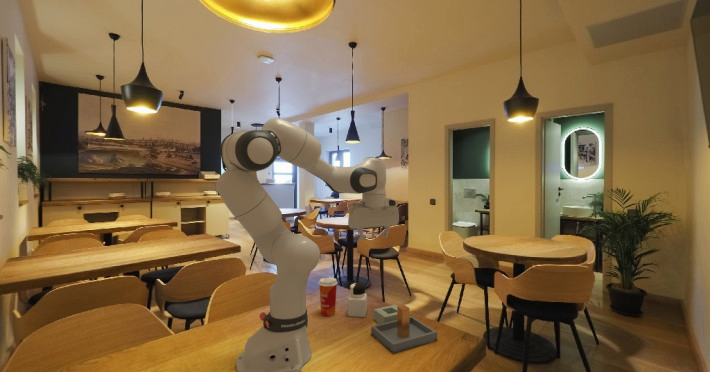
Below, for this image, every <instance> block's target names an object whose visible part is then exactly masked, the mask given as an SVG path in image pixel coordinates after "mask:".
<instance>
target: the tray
mask: <svg viewBox="0 0 710 372" xmlns="http://www.w3.org/2000/svg"><path fill="white" fill-rule="evenodd" d="M370 331H371V332H370V333H371V334H370V335H371V336H372V337H374V339H376V340H377V341H378V342H379V344H381V345H383V346H384V348H386V349H387V350H388V351H390V353H392V354H393V355H395V354H398V353H402V352H405V351H408V350H411V349H414V348H417V347H420V346H424V345H427V344H431V343H434V342H436V341H438V331H436V330H435V329H434V328H432V327H430V326H428V325H426V324H425V323H424V322H422V321H420V320H419V319H417V318H416V317H414V316H412V315H411V316H410V315H409V336H408V337H405V338H401V337H400V336H399V335H397V320H394V321H390V322H386V323H382V324H379V323H378V324H375V325H371V326H370Z"/></svg>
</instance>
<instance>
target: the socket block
mask: <svg viewBox="0 0 710 372" xmlns="http://www.w3.org/2000/svg"><path fill="white" fill-rule="evenodd" d="M397 306H398V305H396V304H392V305H388V306H383V307H378V308H374V309H373V320H374V321H375V322H377V323H378V324H382V323H386V322H390V321H394V320H397Z"/></svg>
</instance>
